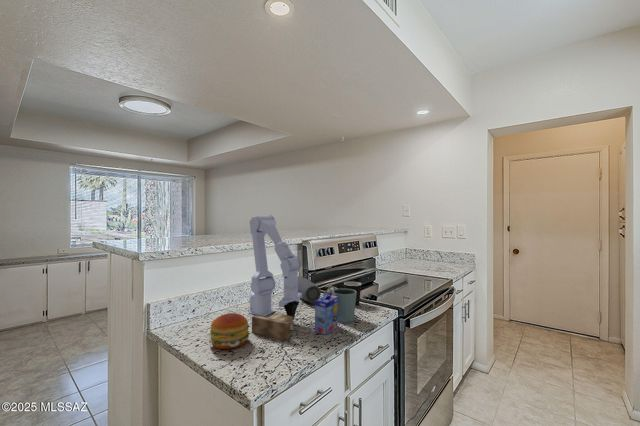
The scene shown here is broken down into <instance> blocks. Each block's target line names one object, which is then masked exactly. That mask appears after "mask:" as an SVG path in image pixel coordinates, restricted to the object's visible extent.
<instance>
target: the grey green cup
mask: <svg viewBox="0 0 640 426" xmlns="http://www.w3.org/2000/svg"><path fill="white" fill-rule="evenodd" d="M332 292H333V296H337V297H338V324H349V323H353V322H354V321H355V313H356V312H355V311H356V306H355V303H356V294H357V292H356V291H355V290H353V289H347V288H342V287H339V288H338V289H335V290H333V291H332Z"/></svg>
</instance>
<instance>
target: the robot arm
mask: <svg viewBox="0 0 640 426" xmlns="http://www.w3.org/2000/svg"><path fill="white" fill-rule="evenodd" d="M276 225H277V220H275V217H274V216H273V215H272V214H268V215H257V214H256V215H255V214H254V215H252V217H251V219H249V228H250V229H249V230H250V235H251V237H252V238H251V239H252V245H253V256H254V265H255V273H254V274H253V275H252V276H251V278H250V279H251V284H250V289H251V291H252V293H251V294H250V296H249V311H248V314H250V315H251V314H252V315H257V316H262V317H267V316H269V315H271V314H274V312H276V309H272V308H273V307H272V294H273V292H274V289H275V288H276V280H275V278H274V274H273V273H272V272H271V271H269V267H268V260H267V259H268V258H267V249H266V244H265V237H266V234H267V236H268V237H269V238H270V240H271V241H272V243H273V244H274V245H275V246H274V252H275V253H276V255H277V257H278V259H279V260H280V262H281V263H280V265H279V266H280V269H281V271H282V272H281V273H282V276H283V297H282V298H281V300H279V301H278V307H279V308H284V309H285V314H286V315H288V316H293V321H294V319H295V316H296V313H297V312H296V311H297V308H298V307H299V305H300V300H301V299H302V293H298V277H299V275H298V274H299V273H298V272H299V270H300V268H301V265H302V263H301V260H300V258H299V256H297V255H295V254H294V253H293V252H292V249H290V247H289V245H288V243H287V242H285V241H283V239H282V237H281V235H280V234H279V231H278V229H277V227H276Z"/></svg>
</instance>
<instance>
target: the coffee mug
mask: <svg viewBox="0 0 640 426" xmlns="http://www.w3.org/2000/svg"><path fill="white" fill-rule="evenodd" d="M336 288H338V289H340V288H347V289H353V290H355V291H356V292H357V294H356V303H355V307H356V306H359V305H360V299H361V292H362V282H358V281H345V282H344V283H343V285H338V286H336Z"/></svg>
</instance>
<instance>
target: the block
mask: <svg viewBox="0 0 640 426" xmlns="http://www.w3.org/2000/svg"><path fill="white" fill-rule="evenodd" d="M267 318H272V319H277V320H282V321H287V322H290V331H292V330H293V329H294V320H293V317H292V316H287V314H281V313H273V315H270V316H268V317H267Z"/></svg>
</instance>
